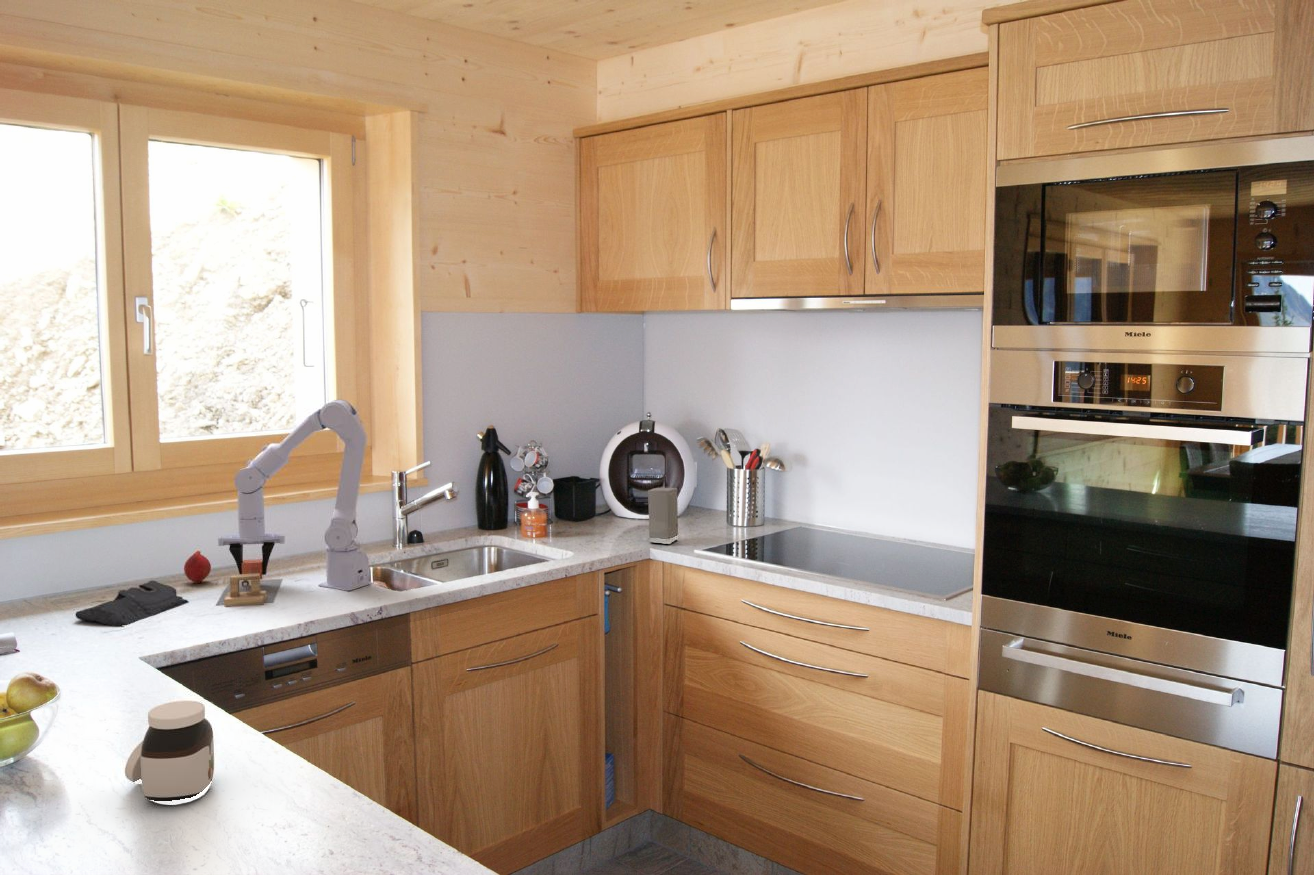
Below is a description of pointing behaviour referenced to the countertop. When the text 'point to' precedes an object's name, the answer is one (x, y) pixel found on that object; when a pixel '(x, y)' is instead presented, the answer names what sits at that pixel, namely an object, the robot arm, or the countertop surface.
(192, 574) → the onion
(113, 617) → the black folded cloth
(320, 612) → the countertop surface
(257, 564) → the copper cube mallet
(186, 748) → the spread jar
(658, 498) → the skincare box
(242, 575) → the wooden arch frame
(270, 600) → the gray panel
